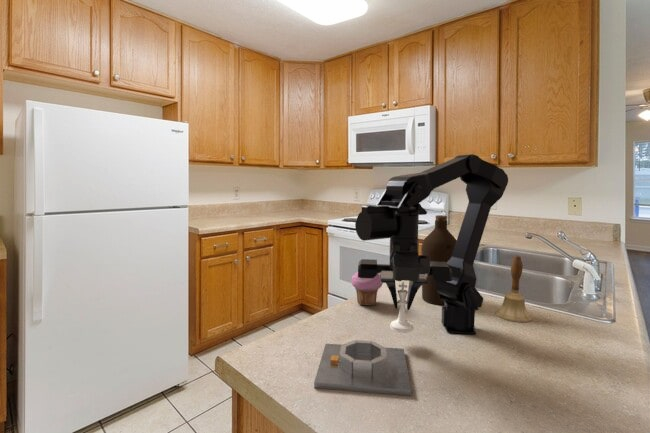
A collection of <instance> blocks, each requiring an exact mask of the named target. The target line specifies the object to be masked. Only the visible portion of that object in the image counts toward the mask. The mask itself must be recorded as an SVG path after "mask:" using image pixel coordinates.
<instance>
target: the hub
mask: <svg viewBox="0 0 650 433" xmlns="http://www.w3.org/2000/svg"><path fill="white" fill-rule="evenodd" d="M404 349H405V348H400V347H399V348H397V347H385V346H383V345H382V344H379V343H378V342H375V341H372V340H359V339H356V340H354V339H353V340H351V341H349V342H346V343H343V344H339V343H338V344H337V343H325V345H324V349H323V352H322V354H321V359H320V362H319V364H318V369H317V372H316V375H315V379H314V385H313V388H315V389H324V390H337V391H348V392H349V391H350V392H360V393H372V394H381V395H382V394H385V395H396V396H407V397H411V396H412V388H411V383H410V382H411V381H410V377H409V372H408V366H407V360H406V354H405V350H404Z"/></svg>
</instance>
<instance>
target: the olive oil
mask: <svg viewBox="0 0 650 433" xmlns="http://www.w3.org/2000/svg"><path fill="white" fill-rule="evenodd" d="M447 219H448V216H447V215H441V214H439V215H435V220H434V229H433V230H432V231H431V232H430V233H428V234H427V236H426V237H425V238H424V239H423V241H422V244H421V247H420V248H421V249H420V252H421V254H420V255H429V256H430V261H435V262H445V263H446V262H447V261H449V260H450V259H451V257H452V254H453V251H454V247H455V244H456V241H457V238H455V236H454V235H453V234H452V233H451V232H450V230H448V220H447ZM426 280H427V281H428V282H427V284H423V285H421V289H422V290H421V299H422V300H423V301H424V302H426V303H429V304H433V305H439V306H444V302H445V301H444V300H441V299H439V296H438V293H437V290H436V287H435V279H434V278H433V277H432V275H427V277H426Z"/></svg>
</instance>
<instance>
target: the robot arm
mask: <svg viewBox="0 0 650 433" xmlns="http://www.w3.org/2000/svg"><path fill="white" fill-rule="evenodd" d="M456 179H460V181H461V182H463V183H464V184H466V186H465V192H466V196H467V199H468V204H467V207H466V210H465V212H464V216H463V219H462V223H461V226H460V228H459V231H458V236H457V238H456V240H457V241H456V244H455V247H454V251H453V254H452V257H451V259H450V260H449V261H447V262H446V263H445V262H435V261H430V256H429V255H421V254H420V255H419V249H418V247H419V219H420V218H419V217H420V216H425V215H427V214H428V211H427V210H426V209H425V208H424V207H422V205H421V203H422V202H423V201H424V200H425V199H428V197H429V196H430V195H431V193H432V191H434V190H436V189H437V188H439V187H441V186H443V185H445V184H447V183H450V182H452V181H454V180H456ZM508 184H509V177H508V174H507V173H506V172H505V170H504V169H503V168H501V167H499V166H497V165H496V164H493V163H491V162H489V161H486V160H484V159H482V158H481V157H479V156H478V155H476V154H474V153H473V154H472V153H471V154H461V155H456V156H455V157H453V158H451V159H450V160H447V161H445V162H442V163H439V164H437V165H435V166H432V167H430V168H427V169H425V170H423V171H420V172H415V173H407V174H403V175H402V174H401V175H396V176H392V177H391V178H389V179H388V181H387V184H386V188H385V189H384V191H383V193H382V194H381V195H380V197H379V199H378V200H377V202H376V204H375V205H367V204H366V205H362V206H361V211H360V212H359V213H358V215H357V218H356V220H355V223H354V225H355V226H354V227H355V233H356V235H357V236H358V238H359V239H360V240H361V241H363V242H365V241H374V240H385V239H389V261H388V262H389V263H388V264H386V263H383V264H382V263H381V264H380V263H378V259H365V258H364V259H363V258H361V259H360V260H359V261H358V265H357V266H358V267H357V272H358V277H359V278H374V277H375V276H376V275H377V273H379V274H380V279H381V282H383V283H385V285H386V286H387V288H388V290H389V293H390V295H391V298H392V303H393V306H394V308H395V309H394V310H396V311H397V310H398V305H399V304H398V293H397V286H396V282H403V281H406V282H407V281H409V282H408V287H407V289H408V290H407V292H408V293H407V296H406V301H407V304H406V309H407V311H410V309H411V308H412V305H413V302H414V299H415V297H416V294H417V293H418V291H419V289H420V288H421V287H422V285H423V284H427V282H428V281H427V280H426V277H427V275H432V277H433V278H434V279H435V287H436V290H437V293H438V296H439V299H441V300H444V301H445V302H444V305H442V307H441V322H440V323H441V325H442V326H443V328H444V329H445V331H446V332H447V333H449V334H463V335H477V330H476V329H475V318H476V317H475V316H476V314H475V313H476V311H477V310H479V308H481V307H482V305H483V301H484V297H483V295H482V294H481V293H480V292H479V291H478V289H476V283H477V275H476V271H475V267H474V264H475V260H476V257H477V254H478V250H479V247H480V244H481V241H482V238H483V235H484V234H483V233H484V231H485V228H486V224H487V221H488V218H489V214H490V212H491V209H492V207H494V205H495V204H496V203H497V202H499V200H500V199H501V198H502V197H503V195H504V193H505V191H506V189H507V186H508Z"/></svg>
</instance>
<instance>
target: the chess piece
mask: <svg viewBox="0 0 650 433" xmlns="http://www.w3.org/2000/svg"><path fill="white" fill-rule="evenodd" d="M398 287H399V288H401V289H399V290H397V295H398V297H399V299H397V302H398V305H399V312H398V317H397V318H396V319H395V320H392V321H391V323H390V325H389V327H390V329H391V330H392V331H394V332H397V333H403V334H404V333H406V334H407V333H411V332H413V331H414V329H415V328H414V324H413V323H412V322H411V321H409V320H408V319H407V315H406V305H407V296H408V290H406V289H405V288H407V289H408V284H405V282H404V281H401V284H398Z"/></svg>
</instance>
